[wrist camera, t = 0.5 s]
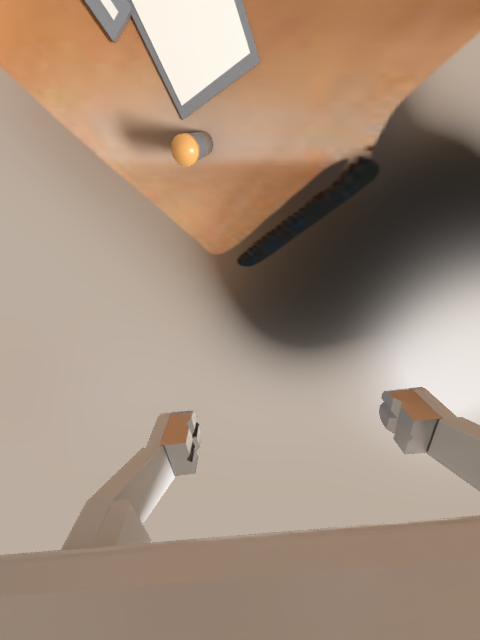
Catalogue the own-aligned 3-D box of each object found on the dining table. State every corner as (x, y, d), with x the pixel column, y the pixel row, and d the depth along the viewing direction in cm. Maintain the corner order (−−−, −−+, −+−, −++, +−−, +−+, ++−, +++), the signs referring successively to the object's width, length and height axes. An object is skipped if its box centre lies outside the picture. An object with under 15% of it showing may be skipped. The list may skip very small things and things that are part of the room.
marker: (189, 137, 42) (165, 143, 32) (206, 125, 41) (187, 127, 31) (200, 159, 44) (181, 171, 35) (217, 149, 43) (201, 158, 33)
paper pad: (99, -54, 30) (96, -56, 29) (191, -175, 24) (189, -181, 24) (183, 119, 40) (182, 119, 40) (260, 62, 35) (260, 61, 34)
